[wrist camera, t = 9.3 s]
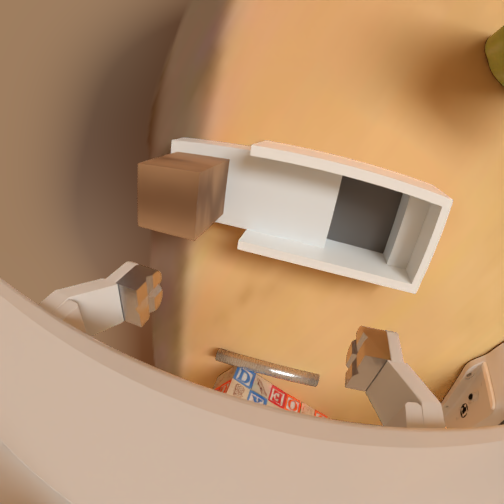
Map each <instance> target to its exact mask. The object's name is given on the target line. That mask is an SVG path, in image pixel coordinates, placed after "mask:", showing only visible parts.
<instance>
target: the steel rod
mask: <svg viewBox="0 0 504 504" xmlns="http://www.w3.org/2000/svg"><path fill="white" fill-rule="evenodd" d="M216 361H219V362H223V363H226V364H229V365H232V366H236V367H239V368H242V369H246V370H249V371H253V372H256V373H260V374H264V375H267V376H271V377H275V378H279V379H283V380H287V381H291V382H296V383H300V384H305V385H309V386H314V387H316V386H317V384H318V381H319V374H315V373H310V372H306V371H301V370H297V369H293V368H289V367H285V366H281V365H277V364H273V363H269V362H265V361H262V360H258V359H254V358H251V357H247V356H244V355H240V354H237V353H234V352H230V351H227V350H224V349H221V348H219V349H218V351H217V354H216Z"/></svg>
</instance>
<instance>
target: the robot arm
mask: <svg viewBox="0 0 504 504" xmlns="http://www.w3.org/2000/svg"><path fill="white" fill-rule="evenodd" d="M161 281H162V277H161V273H160V272H159V271H157V270H154V269H151V268H149V267H146V266H143V265H140V264H137V263H134V262H131V261H127V262H126V263H125V264H123V265H122V266H121V267H120V268H118V269H117V270H116V271H115V272H113V273H112V274H111V275H110V276H109V277H107V278H106V279H103V278H102V279H98V280H94V281H90V282H86V283H82V284H78V285H74V286H70V287H67V288H63V289H59V290H55V291H54V292H53V293H52V294H50V295H49V296H48V297H47V298H46V299H44V300H43V301H42V302H41V303H39V304H36V303H34V302H33V301H32V300H30V299H29V298H27V297H26V296H25V295H23V294H22V293H20V292H19V291H17V290H16V289H15V288H13V287H12V286H11V285H9V284H8V283H7V282H5V281H4V280H3V279H1V278H0V504H504V343H502V344H501V345H499V346H498V347H496V348H495V349H493V350H492V351H491V352H489V353H488V354H486V355H484V356H481V357H479V358H476V359H474V360H472V361H470V362H468V363H467V364H466V365H465V367H464V368H463V370H462V372H461V373H460V375H459V377H458V378H457V380H456V381H455V383H454V385H453V386H452V388H451V389H450V391H449V392H448V394H447V395H446V397H445V398H444V400H443V401H442V402H441V403H440V402H439V401H438V399H437V398H436V397H435V396H434V394H433V393H432V392H431V391H430V390H429V388H428V387H427V386H426V385H425V384H424V383H423V381H422V380H421V379H420V378H419V377H418V375H417V374H416V373H415V372H414V371H413V370H412V369H411V367H410V366H409V365H408V364H407V363H404V361H403V356H402V350H401V345H400V341H399V336H398V333H397V332H392V331H387V330H385V331H384V330H380V329H375V328H370V327H365V326H360V327H359V329H358V331H357V333H356V340H354V341H352V343H351V345H350V347H349V349H348V352H347V357H346V366H347V367H348V371H347V372H346V377H345V387H346V388H351V389H356V390H361V391H366V392H365V393H366V395H367V396H368V398H369V400H370V402H371V404H372V406H373V408H374V409H375V411H376V413H377V415H378V417H379V419H380V421H381V423H382V425H383V426H380V425H371V424H362V423H354V422H347V421H340V420H334V419H328V418H323V417H317V416H312V415H307V414H302V413H297V412H293V411H288V410H284V409H280V408H276V407H272V406H268V405H264V404H260V403H257V402H253V401H249V400H246V399H242V398H239V397H236V396H232V395H229V394H226V393H223V392H220V391H217V390H214V389H211V388H208V387H205V386H202V385H199V384H197V383H194V382H191V381H188V380H186V379H183V378H180V377H178V376H175V375H173V374H170V373H168V372H165V371H163V370H161V369H158V368H156V367H153V366H151V365H149V364H147V363H144V362H142V361H140V360H138V359H135V358H133V357H131V356H129V355H127V354H125V353H123V352H121V351H118V350H116V349H114V348H112V347H110V346H108V345H106V344H104V343H102V342H101V341H99V340H97V339H95V338H93V337H92V336H94V335H96V334H98V333H100V332H102V331H105V330H107V329H109V328H111V327H113V326H115V325H118V324H120V323H122V322H124V321H127V322H129V323H132V324H134V325H137V326H140V327H142V326H143V325H144V324H145V322H146V321H147V320H148V319H149V318H150V314H149V313H150V312H153V311H156V309H157V308H158V307H159V305H160V303H161V300H162V288H161V287H160V285H159V283H160V282H161ZM445 427H446V428H445Z"/></svg>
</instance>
